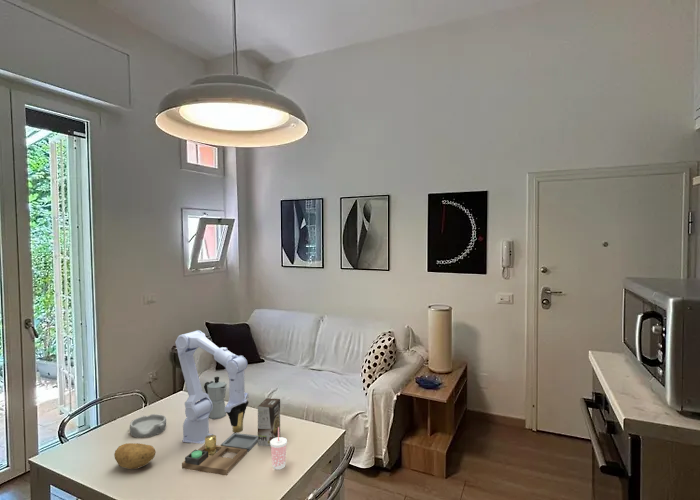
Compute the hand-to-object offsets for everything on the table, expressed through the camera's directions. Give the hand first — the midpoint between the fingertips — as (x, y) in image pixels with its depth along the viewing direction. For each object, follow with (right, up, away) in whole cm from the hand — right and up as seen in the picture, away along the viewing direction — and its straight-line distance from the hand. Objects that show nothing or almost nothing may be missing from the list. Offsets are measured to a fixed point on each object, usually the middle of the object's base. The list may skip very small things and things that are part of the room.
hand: (237, 423), depth 153 cm
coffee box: (+11, -10, +6) cm, 16 cm away
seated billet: (-9, -10, -5) cm, 14 cm away
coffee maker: (-19, -10, +31) cm, 38 cm away
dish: (-43, -11, +15) cm, 47 cm away
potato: (-33, -11, -12) cm, 37 cm away
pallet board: (-6, -10, -8) cm, 15 cm away
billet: (0, -3, 0) cm, 3 cm away
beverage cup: (+18, -11, -11) cm, 24 cm away
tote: (0, -10, +3) cm, 11 cm away
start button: (-12, -8, -11) cm, 18 cm away
